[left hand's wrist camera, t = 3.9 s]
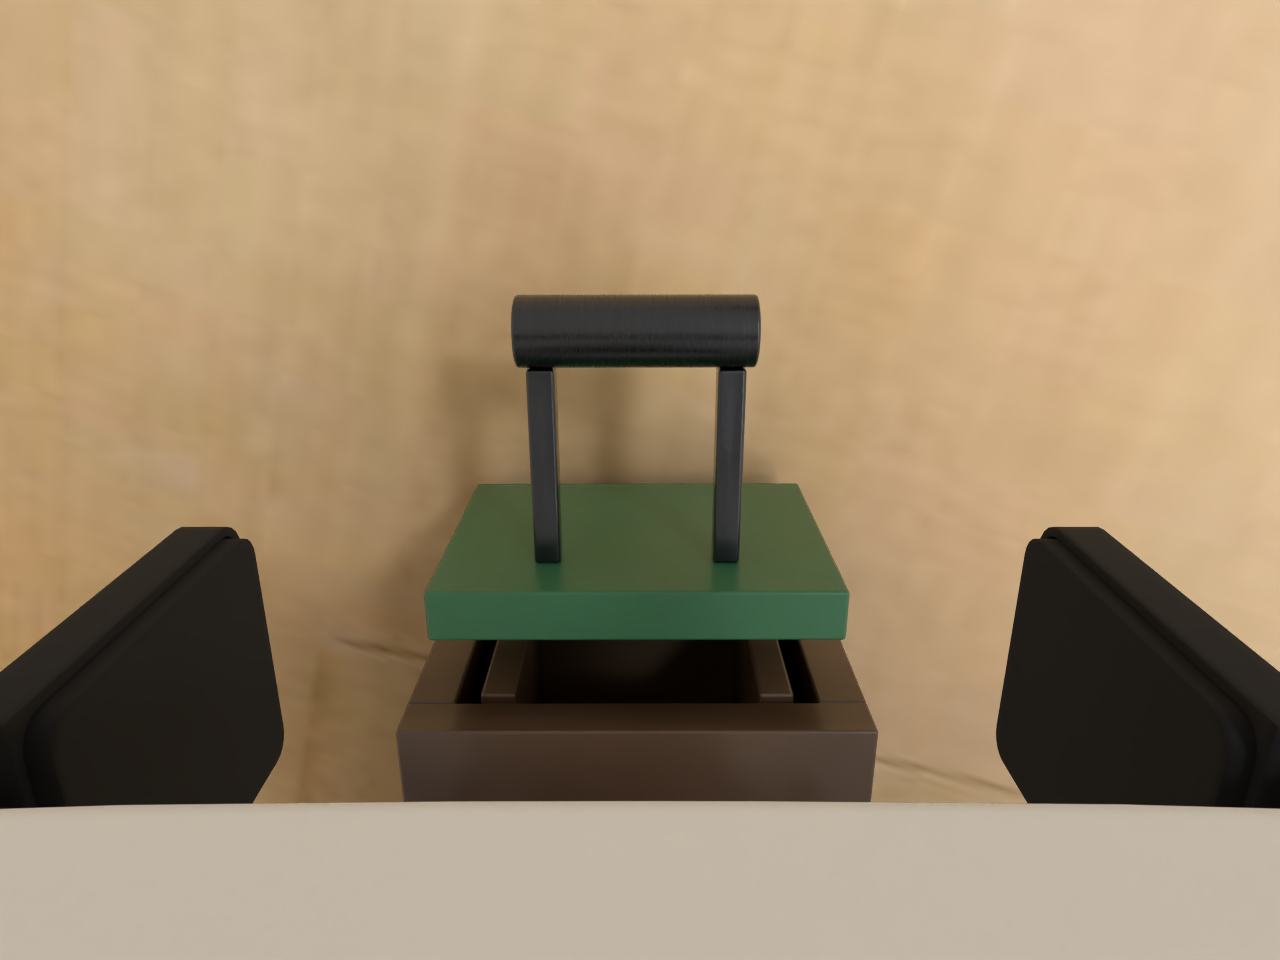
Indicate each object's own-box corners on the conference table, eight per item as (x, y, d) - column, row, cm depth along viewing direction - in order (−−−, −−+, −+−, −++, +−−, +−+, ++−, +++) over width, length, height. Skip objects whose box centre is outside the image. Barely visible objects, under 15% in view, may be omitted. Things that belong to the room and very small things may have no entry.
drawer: (462, 267, 23) (395, 308, 17) (811, 266, 23) (875, 307, 17) (505, 889, 31) (469, 1082, 24) (772, 889, 31) (807, 1082, 24)
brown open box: (469, 556, 27) (394, 731, 19) (807, 555, 27) (879, 731, 19) (499, 955, 33) (451, 1226, 25) (779, 955, 33) (826, 1226, 25)
